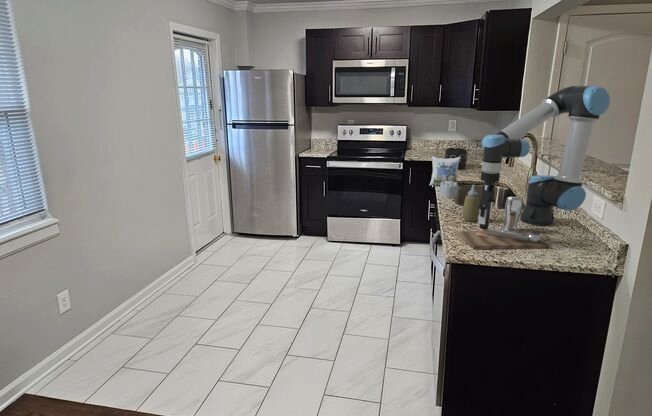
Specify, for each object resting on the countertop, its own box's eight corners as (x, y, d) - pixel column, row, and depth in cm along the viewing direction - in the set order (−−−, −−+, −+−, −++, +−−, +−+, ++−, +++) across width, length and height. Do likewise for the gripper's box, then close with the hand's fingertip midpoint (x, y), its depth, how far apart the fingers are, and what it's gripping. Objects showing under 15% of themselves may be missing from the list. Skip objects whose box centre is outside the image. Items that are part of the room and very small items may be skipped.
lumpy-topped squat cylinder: (457, 194, 260) (458, 180, 258) (456, 199, 249) (457, 184, 246) (440, 192, 264) (441, 179, 261) (438, 197, 252) (439, 183, 249)
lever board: (522, 232, 192) (523, 228, 191) (548, 247, 173) (549, 244, 172) (455, 233, 189) (455, 229, 189) (473, 249, 170) (474, 245, 170)
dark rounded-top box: (460, 171, 335) (462, 151, 331) (439, 167, 347) (441, 148, 343) (470, 168, 348) (472, 149, 344) (450, 165, 360) (452, 147, 355)
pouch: (428, 184, 287) (430, 155, 281) (456, 185, 285) (459, 155, 280) (430, 186, 279) (432, 156, 273) (459, 187, 278) (462, 157, 272)
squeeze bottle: (465, 216, 214) (468, 182, 209) (480, 220, 209) (485, 184, 204) (458, 220, 208) (462, 184, 203) (474, 223, 203) (479, 187, 198)
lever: (540, 240, 176) (545, 208, 172) (538, 244, 172) (544, 211, 168) (480, 230, 188) (483, 199, 184) (477, 233, 184) (481, 202, 180)
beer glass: (498, 228, 197) (503, 197, 193) (510, 226, 199) (514, 196, 195) (510, 232, 191) (514, 200, 187) (521, 231, 193) (526, 199, 189)
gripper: (487, 166, 190) (481, 211, 196) (475, 175, 169) (469, 225, 175) (504, 168, 186) (498, 214, 192) (494, 177, 166) (488, 228, 171)
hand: (484, 219), depth 184 cm, fingers open, 13 cm apart
